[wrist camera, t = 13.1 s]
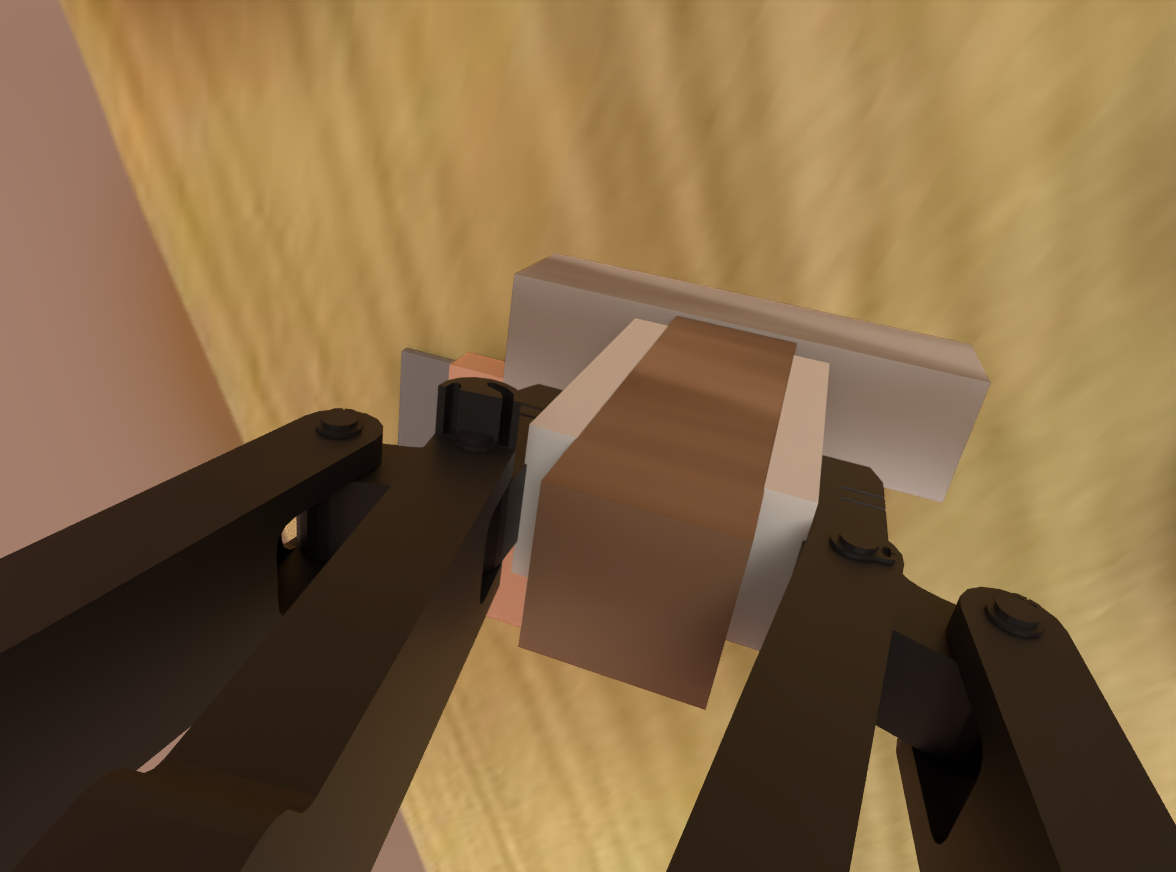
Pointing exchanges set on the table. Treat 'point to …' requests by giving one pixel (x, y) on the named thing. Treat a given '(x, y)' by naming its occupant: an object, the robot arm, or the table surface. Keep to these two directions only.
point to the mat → (419, 395)
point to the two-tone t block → (700, 454)
